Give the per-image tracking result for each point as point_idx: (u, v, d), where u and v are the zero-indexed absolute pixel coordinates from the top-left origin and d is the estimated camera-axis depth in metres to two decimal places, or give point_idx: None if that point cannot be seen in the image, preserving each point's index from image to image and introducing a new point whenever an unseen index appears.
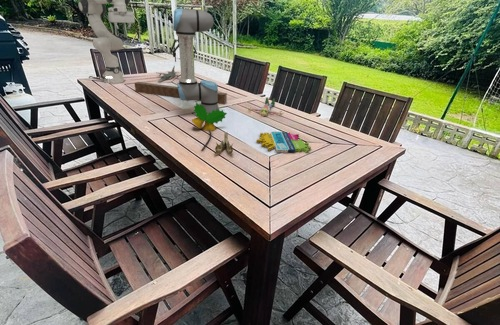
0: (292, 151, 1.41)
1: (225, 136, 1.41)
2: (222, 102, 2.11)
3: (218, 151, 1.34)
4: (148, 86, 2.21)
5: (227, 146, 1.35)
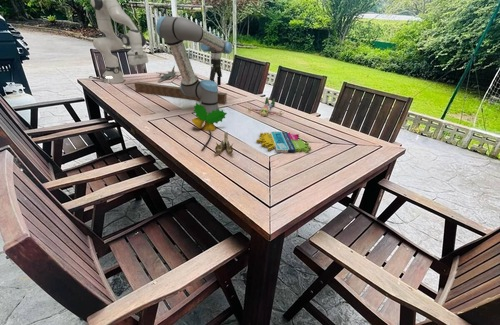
0: (292, 151, 1.41)
1: (225, 136, 1.41)
2: (222, 102, 2.11)
3: (218, 151, 1.34)
4: (148, 86, 2.21)
5: (227, 146, 1.35)
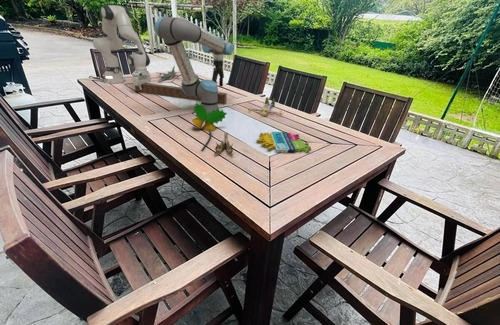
0: (292, 151, 1.41)
1: (225, 136, 1.41)
2: (222, 102, 2.11)
3: (218, 151, 1.34)
4: (148, 86, 2.21)
5: (227, 146, 1.35)
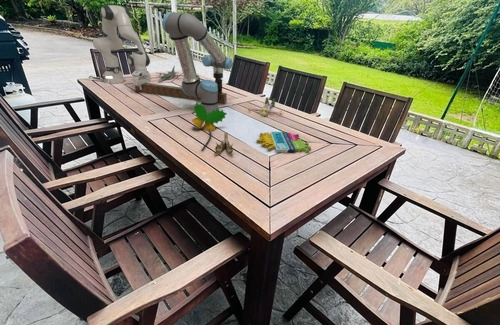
0: (292, 151, 1.41)
1: (225, 136, 1.41)
2: (222, 102, 2.11)
3: (218, 151, 1.34)
4: (148, 86, 2.21)
5: (227, 146, 1.35)
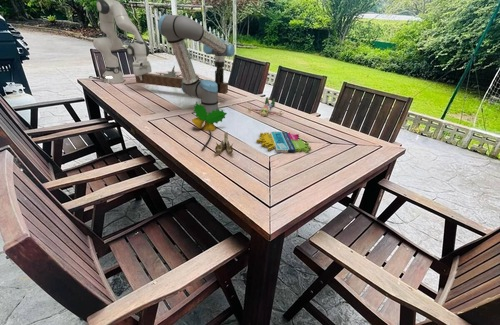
0: (292, 151, 1.41)
1: (225, 136, 1.41)
2: (223, 92, 2.08)
3: (218, 151, 1.34)
4: (148, 76, 2.19)
5: (227, 146, 1.35)
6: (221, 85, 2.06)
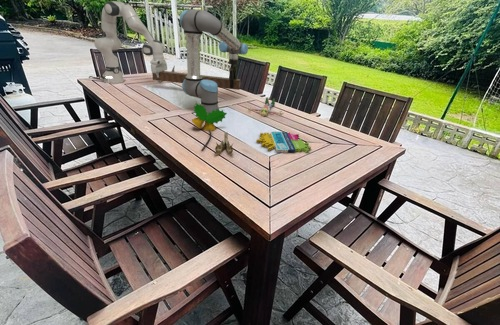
0: (292, 151, 1.41)
1: (225, 136, 1.41)
2: (237, 88, 2.20)
3: (218, 151, 1.34)
4: (165, 74, 2.31)
5: (227, 146, 1.35)
6: (235, 81, 2.18)
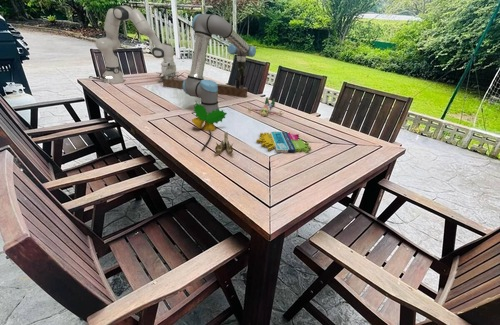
0: (292, 151, 1.41)
1: (225, 136, 1.41)
2: (243, 95, 2.32)
3: (218, 151, 1.34)
4: (175, 81, 2.43)
5: (227, 146, 1.35)
6: (241, 90, 2.30)
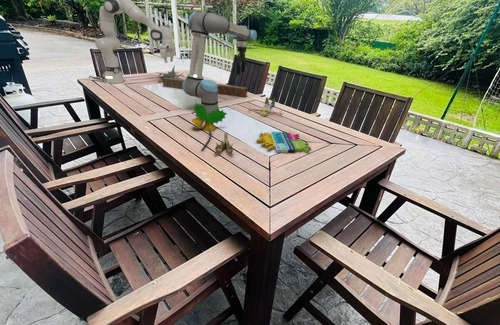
0: (292, 151, 1.41)
1: (225, 136, 1.41)
2: (243, 95, 2.32)
3: (218, 151, 1.34)
4: (175, 81, 2.43)
5: (227, 146, 1.35)
6: (241, 90, 2.30)
